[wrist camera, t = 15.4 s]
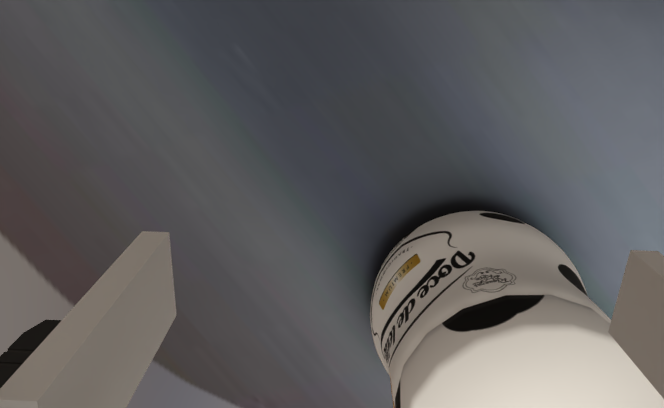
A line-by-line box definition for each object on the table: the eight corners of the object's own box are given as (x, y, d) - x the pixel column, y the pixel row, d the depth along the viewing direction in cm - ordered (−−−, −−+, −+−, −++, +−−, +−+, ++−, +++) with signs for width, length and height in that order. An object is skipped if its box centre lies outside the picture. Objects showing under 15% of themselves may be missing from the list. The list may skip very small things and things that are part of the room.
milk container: (362, 204, 43) (379, 321, 27) (565, 191, 43) (714, 302, 26) (371, 369, 49) (389, 551, 32) (549, 360, 49) (662, 540, 32)
